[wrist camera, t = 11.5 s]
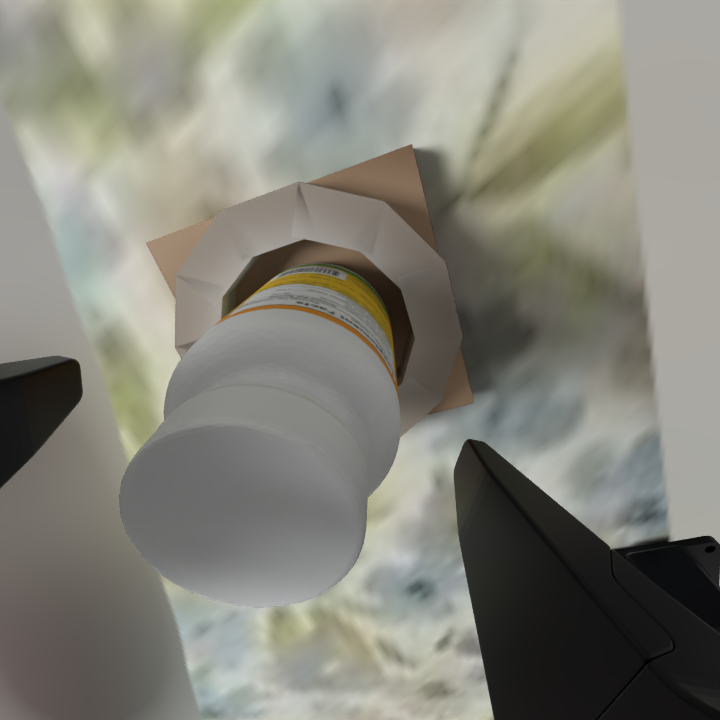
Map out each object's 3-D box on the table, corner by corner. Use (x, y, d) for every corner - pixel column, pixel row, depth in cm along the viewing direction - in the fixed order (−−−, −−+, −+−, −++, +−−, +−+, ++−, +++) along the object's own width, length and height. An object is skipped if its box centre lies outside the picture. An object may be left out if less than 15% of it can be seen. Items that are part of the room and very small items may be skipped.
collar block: (468, 389, 17) (483, 422, 15) (265, 441, 19) (247, 479, 16) (409, 148, 13) (416, 137, 11) (162, 239, 15) (120, 248, 13)
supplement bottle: (323, 413, 16) (260, 671, 8) (226, 326, 15) (8, 517, 6) (420, 333, 15) (483, 544, 6) (321, 228, 13) (209, 294, 5)
